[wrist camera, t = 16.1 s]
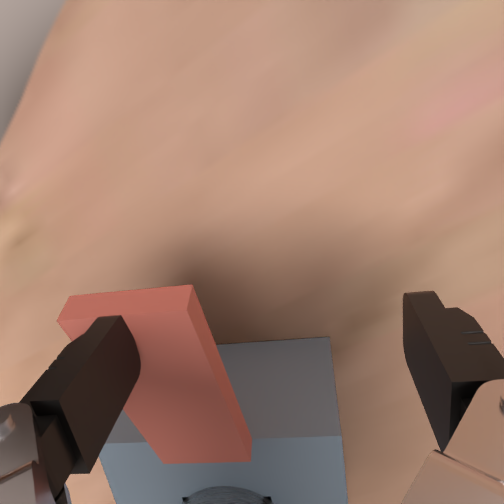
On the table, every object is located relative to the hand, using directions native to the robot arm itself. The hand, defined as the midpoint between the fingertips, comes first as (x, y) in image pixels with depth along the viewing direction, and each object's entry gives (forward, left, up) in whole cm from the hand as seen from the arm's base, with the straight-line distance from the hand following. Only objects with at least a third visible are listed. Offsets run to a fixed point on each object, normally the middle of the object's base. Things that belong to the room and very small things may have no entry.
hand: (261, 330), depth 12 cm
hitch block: (-14, +4, -12) cm, 19 cm away
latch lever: (-3, +4, -2) cm, 6 cm away
